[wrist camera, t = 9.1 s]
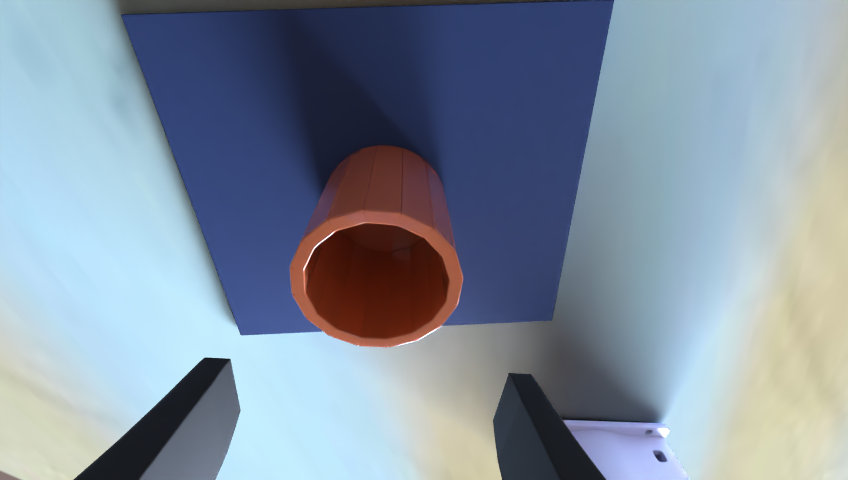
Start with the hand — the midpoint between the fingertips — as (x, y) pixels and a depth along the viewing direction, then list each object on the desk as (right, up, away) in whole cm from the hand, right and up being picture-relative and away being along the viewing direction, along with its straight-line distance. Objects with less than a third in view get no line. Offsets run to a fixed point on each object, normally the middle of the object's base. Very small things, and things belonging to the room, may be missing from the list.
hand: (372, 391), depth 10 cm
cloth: (0, +6, +7) cm, 9 cm away
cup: (0, +6, +7) cm, 9 cm away
